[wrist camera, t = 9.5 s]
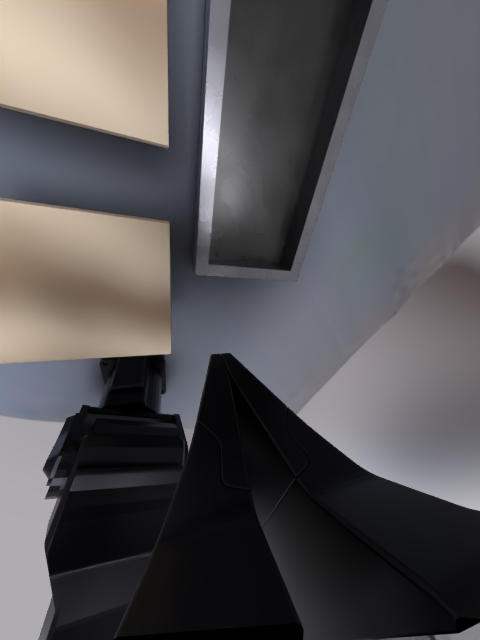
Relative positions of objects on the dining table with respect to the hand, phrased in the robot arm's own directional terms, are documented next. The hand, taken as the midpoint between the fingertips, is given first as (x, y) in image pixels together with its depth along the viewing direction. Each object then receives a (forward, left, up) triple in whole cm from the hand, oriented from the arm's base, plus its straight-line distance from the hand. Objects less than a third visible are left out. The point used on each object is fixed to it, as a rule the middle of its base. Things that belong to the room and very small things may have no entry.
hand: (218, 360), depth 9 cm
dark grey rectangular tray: (+10, -5, -13) cm, 17 cm away
